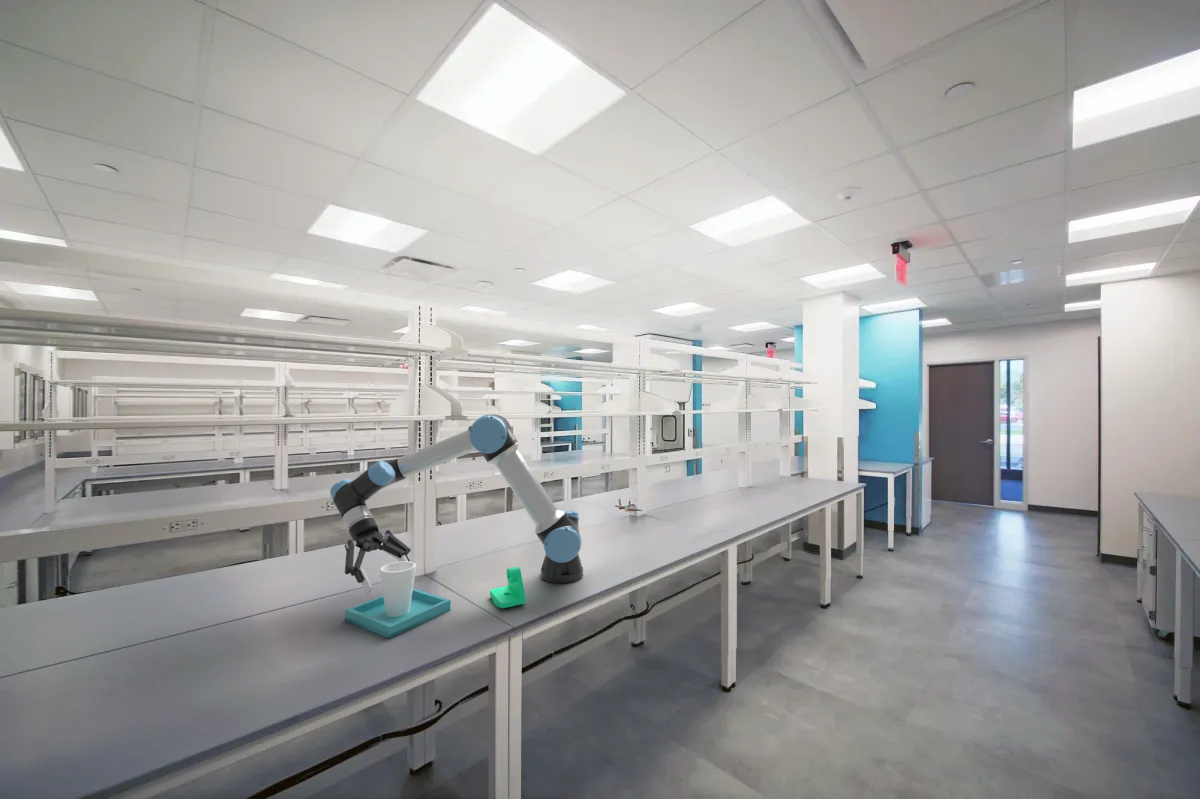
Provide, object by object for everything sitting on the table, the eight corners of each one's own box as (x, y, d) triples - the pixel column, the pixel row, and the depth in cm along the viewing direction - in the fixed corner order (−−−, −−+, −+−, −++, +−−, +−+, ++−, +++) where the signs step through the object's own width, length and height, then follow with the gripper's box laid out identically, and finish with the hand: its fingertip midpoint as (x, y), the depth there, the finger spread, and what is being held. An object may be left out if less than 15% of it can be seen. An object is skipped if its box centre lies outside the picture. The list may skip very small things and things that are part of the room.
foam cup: (405, 602, 141) (405, 559, 142) (421, 610, 136) (422, 565, 136) (373, 612, 134) (374, 567, 134) (389, 622, 128) (389, 574, 128)
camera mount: (489, 597, 148) (489, 565, 148) (512, 593, 152) (512, 561, 152) (501, 612, 137) (501, 577, 138) (525, 606, 141) (525, 572, 141)
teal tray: (406, 595, 149) (406, 586, 149) (450, 609, 138) (450, 599, 138) (345, 620, 131) (345, 609, 132) (390, 638, 121) (390, 627, 121)
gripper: (391, 523, 156) (420, 576, 148) (314, 541, 135) (344, 605, 127) (401, 509, 154) (432, 562, 146) (325, 525, 132) (356, 589, 124)
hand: (391, 582), depth 136 cm, fingers open, 13 cm apart
